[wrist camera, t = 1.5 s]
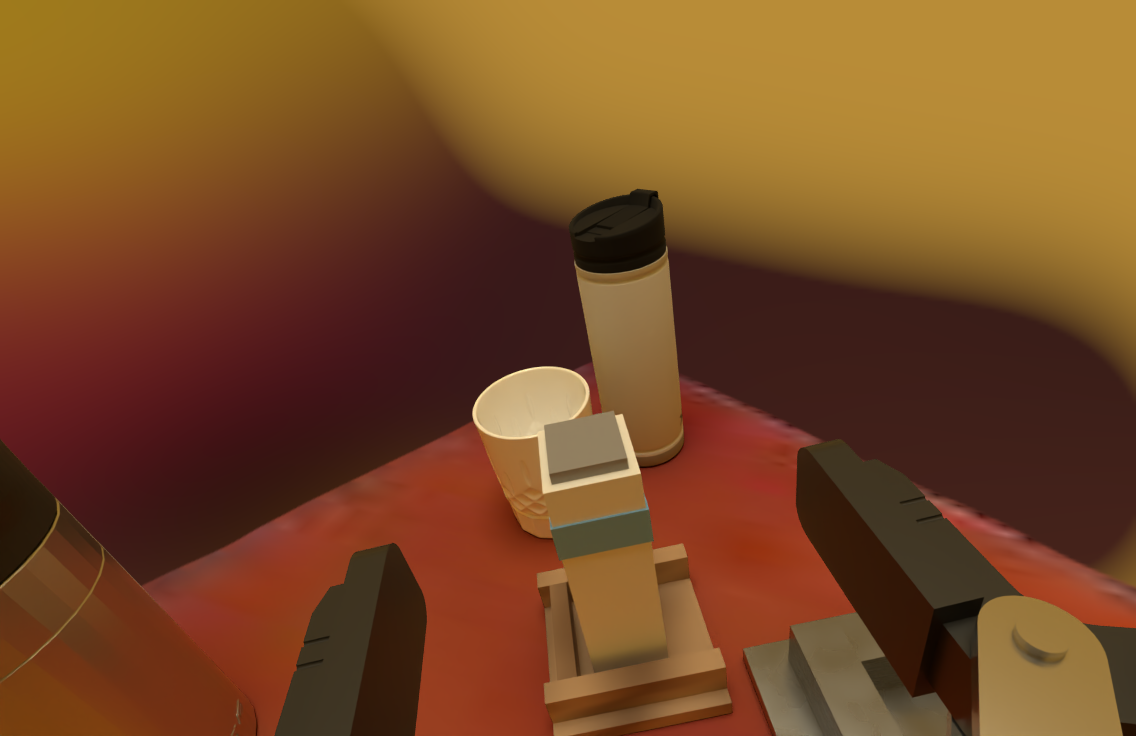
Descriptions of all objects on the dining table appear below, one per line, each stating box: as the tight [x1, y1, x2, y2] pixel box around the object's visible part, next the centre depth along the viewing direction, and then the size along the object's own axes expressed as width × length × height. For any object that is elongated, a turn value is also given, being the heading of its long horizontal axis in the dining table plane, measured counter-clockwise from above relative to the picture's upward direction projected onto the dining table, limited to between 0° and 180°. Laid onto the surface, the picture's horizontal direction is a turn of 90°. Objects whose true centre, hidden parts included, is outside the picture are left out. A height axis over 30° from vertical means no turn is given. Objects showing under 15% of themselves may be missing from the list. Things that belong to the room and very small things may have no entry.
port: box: [743, 612, 948, 736], centre depth 24 cm, size 14×12×4 cm
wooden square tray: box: [537, 544, 732, 736], centre depth 31 cm, size 9×9×3 cm
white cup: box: [473, 367, 593, 538], centre depth 39 cm, size 8×8×10 cm
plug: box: [538, 411, 669, 673], centre depth 27 cm, size 4×4×15 cm
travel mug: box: [569, 189, 684, 466], centre depth 41 cm, size 6×7×20 cm
